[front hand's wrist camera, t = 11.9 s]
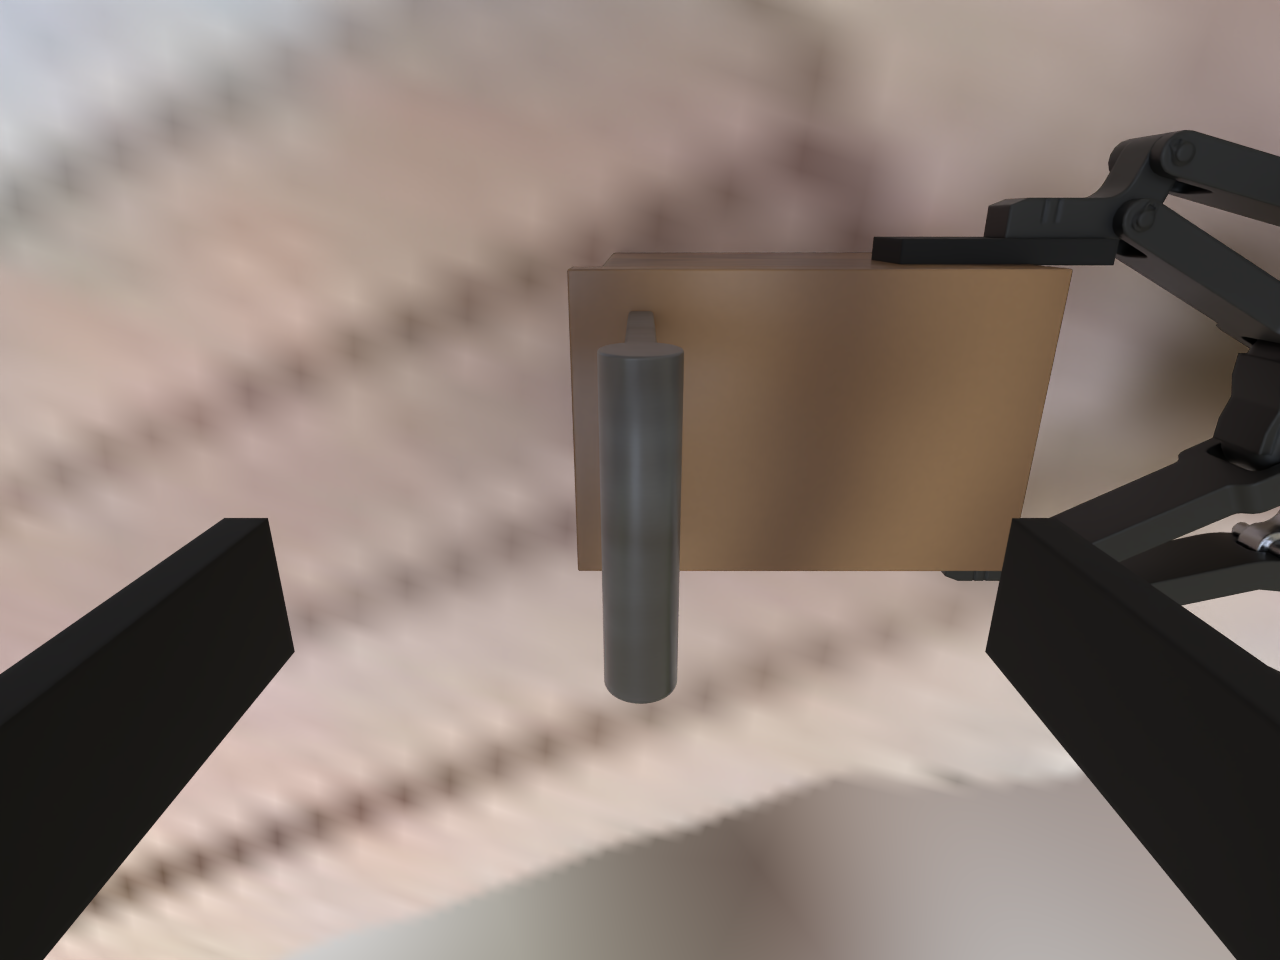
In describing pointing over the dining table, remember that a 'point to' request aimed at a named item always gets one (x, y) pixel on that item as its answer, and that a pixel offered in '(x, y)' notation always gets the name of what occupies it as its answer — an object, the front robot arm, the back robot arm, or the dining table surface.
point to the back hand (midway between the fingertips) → (867, 403)
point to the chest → (758, 260)
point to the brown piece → (796, 428)
